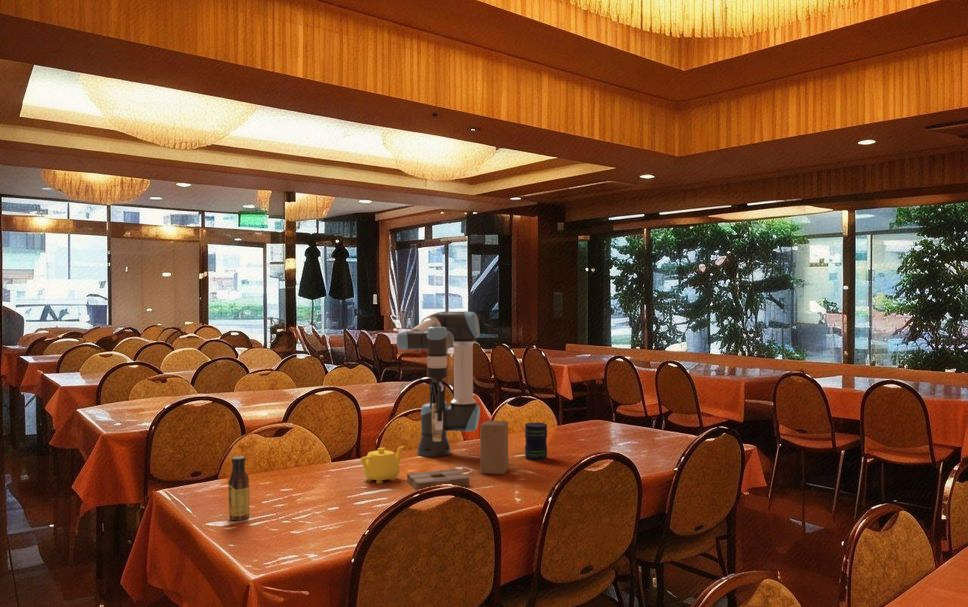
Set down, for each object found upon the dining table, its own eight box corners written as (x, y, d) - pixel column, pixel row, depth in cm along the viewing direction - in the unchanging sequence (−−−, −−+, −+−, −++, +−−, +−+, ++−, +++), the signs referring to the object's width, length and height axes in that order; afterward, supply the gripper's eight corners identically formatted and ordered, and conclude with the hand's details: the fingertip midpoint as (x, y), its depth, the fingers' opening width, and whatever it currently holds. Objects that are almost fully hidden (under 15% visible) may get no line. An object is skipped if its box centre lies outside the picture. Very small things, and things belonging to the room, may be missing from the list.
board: (407, 481, 266) (407, 473, 266) (456, 476, 274) (456, 468, 274) (417, 491, 252) (417, 483, 252) (469, 486, 260) (469, 478, 260)
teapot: (413, 478, 271) (413, 446, 271) (371, 487, 258) (371, 454, 258) (393, 472, 281) (393, 441, 281) (351, 480, 268) (351, 449, 268)
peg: (430, 440, 264) (430, 403, 264) (440, 439, 266) (440, 403, 266) (433, 442, 260) (433, 405, 260) (444, 441, 262) (443, 404, 262)
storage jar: (521, 459, 302) (521, 425, 302) (528, 455, 311) (528, 421, 311) (543, 461, 298) (543, 427, 298) (550, 456, 307) (550, 423, 307)
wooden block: (504, 475, 275) (504, 425, 275) (479, 474, 277) (479, 424, 277) (508, 469, 285) (508, 420, 285) (484, 468, 287) (484, 420, 287)
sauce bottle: (231, 515, 225) (231, 454, 225) (251, 515, 225) (251, 454, 225) (226, 522, 218) (225, 459, 218) (246, 521, 219) (246, 458, 219)
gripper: (421, 365, 270) (421, 425, 270) (434, 369, 254) (434, 433, 254) (439, 365, 272) (439, 424, 272) (453, 368, 257) (453, 431, 257)
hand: (437, 428), depth 263 cm, fingers closed on peg, 4 cm apart
